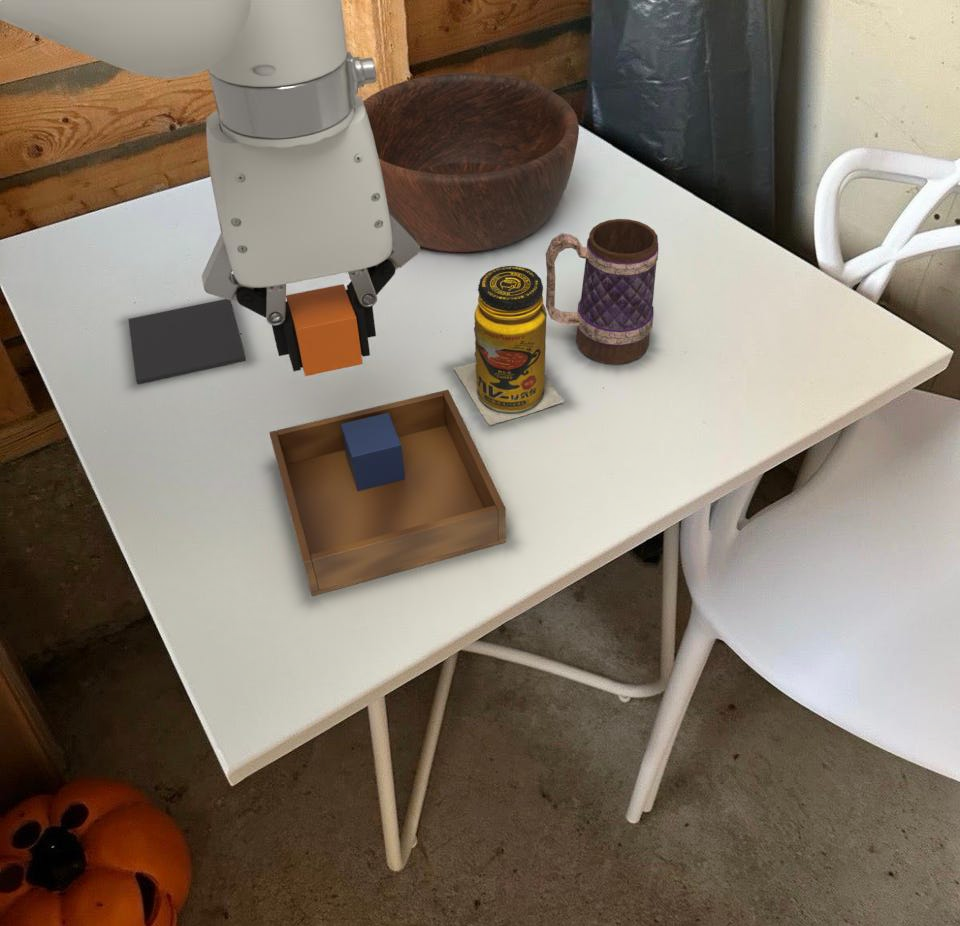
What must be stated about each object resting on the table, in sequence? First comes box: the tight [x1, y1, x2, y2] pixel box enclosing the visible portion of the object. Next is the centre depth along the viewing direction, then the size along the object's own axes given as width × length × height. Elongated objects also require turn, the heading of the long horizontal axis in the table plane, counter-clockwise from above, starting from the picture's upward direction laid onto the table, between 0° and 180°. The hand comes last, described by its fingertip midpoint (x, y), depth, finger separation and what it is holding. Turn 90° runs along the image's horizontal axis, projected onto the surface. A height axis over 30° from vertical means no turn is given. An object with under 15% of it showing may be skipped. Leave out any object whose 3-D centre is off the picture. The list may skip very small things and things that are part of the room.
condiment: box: [453, 265, 565, 426], centre depth 80 cm, size 7×8×12 cm
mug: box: [545, 218, 659, 365], centre depth 84 cm, size 10×7×12 cm
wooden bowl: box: [362, 72, 580, 253], centre depth 102 cm, size 25×25×10 cm
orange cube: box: [286, 283, 363, 377], centre depth 63 cm, size 4×4×4 cm
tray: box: [269, 389, 507, 597], centre depth 73 cm, size 15×14×4 cm
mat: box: [128, 298, 246, 385], centre depth 90 cm, size 10×10×1 cm
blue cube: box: [341, 413, 405, 491], centre depth 75 cm, size 4×4×4 cm
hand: (327, 349), depth 64 cm, fingers closed on orange cube, 4 cm apart
